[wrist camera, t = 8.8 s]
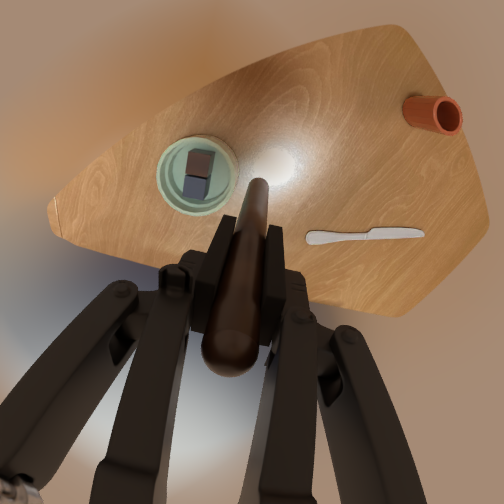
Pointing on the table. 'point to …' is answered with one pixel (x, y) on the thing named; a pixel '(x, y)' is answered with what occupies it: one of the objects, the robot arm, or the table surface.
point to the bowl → (174, 174)
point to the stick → (239, 291)
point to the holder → (433, 114)
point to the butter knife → (362, 235)
